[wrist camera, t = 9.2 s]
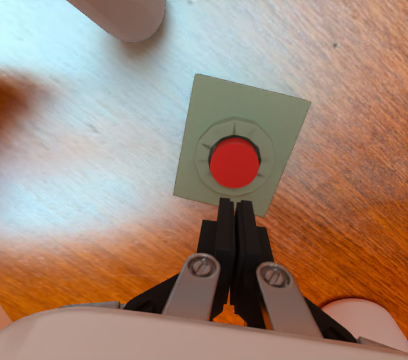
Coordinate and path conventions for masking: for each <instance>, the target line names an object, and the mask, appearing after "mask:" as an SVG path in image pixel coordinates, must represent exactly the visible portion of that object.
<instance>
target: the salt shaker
mask: <svg viewBox="0 0 408 360" xmlns="http://www.w3.org/2000/svg"><path fill="white" fill-rule="evenodd" d="M67 1H68V2H69V3H71V4H72V5H73V6H74V7H76V8H77V9H78V10H79V11H81V12H82V13H83V14H85V15H86V16H87V17H88V18H90V19H91V20H92V21H93V22H95V23H96V24H97V25H98V26H100V27H101V28H102V29H104V30H105V31H106V32H107V33H109V34H111V35H113V36H114V37H116V38H118V39H120V40H121V41H127V42H141V41H143V40H144V39H146V38H148V37H150V36H151V35H153V34H154V33H155V31H156V30H157V29H158V27H159V26H160V24H161V23H162V21H163V18H164V11H165V5H166V0H67Z"/></svg>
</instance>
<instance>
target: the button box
mask: <svg viewBox="0 0 408 360" xmlns="http://www.w3.org/2000/svg"><path fill="white" fill-rule="evenodd" d="M310 105H311V102H310V101H307V100H305V99H301V98H297V97H293V96H289V95H285V94H280V93H276V92H272V91H268V90H264V89H260V88H256V87H252V86H248V85H243V84H239V83H235V82H231V81H227V80H223V79H219V78H215V77H211V76H207V75H202V74H195V77H194V83H193V88H192V94H191V99H190V104H189V110H188V115H187V121H186V126H185V132H184V137H183V143H182V148H181V154H180V159H179V165H178V170H177V176H176V181H175V187H174V192H173V195H174V196H178V197H182V198H186V199H190V200H194V201H198V202H202V203H207V204H211V205H215V206H219V200H220V197H222V198H230V201H233V202H234V210H236V204H237V202H241V200H248V201H252V204H253V210H254V215H255V216H259V217H263V218H265V215H266V213H267V210H268V208H269V205H270V203H271V201H272V198H273V196H274V193H275V191H276V188H277V186H278V183H279V181H280V178H281V176H282V174H283V171H284V169H285V166H286V164H287V161H288V159H289V156H290V154H291V151H292V149H293V147H294V144H295V142H296V139H297V137H298V134H299V132H300V129H301V127H302V124H303V122H304V119H305V117H306V115H307V112H308V110H309V107H310ZM228 138H241V139H244V140H246V141H248V142H249V143H250V144H251V145H252V146H253V147H254V149H255V151H256V154H257V157H258V161H259V170H258V173H257V175H256V177H255V178H254V180H253V181H252V182H251V183H249V184H248V185H246V186H244V187H241V188H228V187H225V186H223V185H221V184H219V183H218V182H217V181H216V180H215V179H214V177H213V176H212V173H211V170H210V162H211V157H212V153H213V151H214V149H215V147H216V146H217V145H218V144H219V143H220V142H222V141H223V140H225V139H228Z"/></svg>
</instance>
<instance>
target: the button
mask: <svg viewBox="0 0 408 360" xmlns="http://www.w3.org/2000/svg"><path fill="white" fill-rule="evenodd" d="M210 170H211V173H212V176H213V177H214V179H215V180H216V181H217V182H218V183H219V184H221V185H223V186H225V187H228V188H241V187H244V186H246V185H248V184H249V183H251V182H252V181H253V180H254V178H255V177H256V175H257V173H258V170H259V161H258V157H257V154H256V151H255V149H254V147H253V146H252V145H251V144H250V143H249V142H248V141H246V140H244V139H241V138H228V139H225V140H223V141H222V142H220V143H219V144H218V145H217V146H216V147H215V149H214V151H213V153H212V157H211V162H210Z"/></svg>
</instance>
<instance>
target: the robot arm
mask: <svg viewBox="0 0 408 360" xmlns="http://www.w3.org/2000/svg"><path fill="white" fill-rule="evenodd" d="M229 287H230V305H234V311H235V314H239V316H240V317H241V318H242V319H243V320H244V326H238V325H231V324H224V323H217V322H213V318H215V317H216V316H217V315H219V314H220V313H221V312H222V311H223V305H224V304H227V299H228V293H229ZM0 360H408V353H407V352H404V351H401V350H398V349H395V348H392V347H389V346H387V345H384V344H381V343H378V342H375V341H372V340H369V339H367V338H364V337H361V336H359V338H358V339H356V338H354V336H353V335H352V334H351V333H350V332H349V331H348V330H347V329H346V328H344V327H343V326H342V325H341V324H339V323H338V322H337V321H335V320H334V319H333V318H332V317H330V316H329V315H328V314H326V313H325V312H324V311H323V310H321V309H320V308H319V307H317V306H316V305H315V304H313V303H312V302H311V301H310V300H308V299H307V298H306V297H304V296H303V295H302V293H301V291H300V289H299V287H298V285H297V283H296V281H295V279H294V277H293V275H292V274H291V272H290V271H289V270H288V269H287V268H286V267H284V266H282V265H281V264H278V263H275V262H274V259H273V255H272V250H271V246H270V242H269V238H268V234H267V230H266V228H265V227H259V226H256V221H255V215H254V210H253V204H252V201H248V200H241V202H237V204H236V210H235V216H234V202H233V201H230V198H222V197H220V200H219V209H218V217H217V221H210V220H203V221H202V226H201V232H200V237H199V243H198V248H197V253H196V254H193V255H191V256H189V257H188V258H187V259H186V261H185V262H184V265H183V267H182V269H181V271H180V273H178V274H177V275H175V276H173V277H171V278H169V279H167V280H166V281H164V282H162V283H160V284H158V285H156V286H155V287H153V288H151V289H149V290H147V291H145V292H144V293H142V294H140V295H138V296H136V297H135V298H133V299H132V300H130V301H129V302H128V303H127V304H120V301H115V302H101V303H88V304H74V305H66V306H61V307H59V308H57V309H52V310H48V311H43V312H39V313H35V314H32V315H29V316H26V317H24V318H21V319H19V320H17V321H15V322H13V323H11V324H9V325H8V326H6V327H5V328H3V329H2V330H0Z"/></svg>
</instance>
